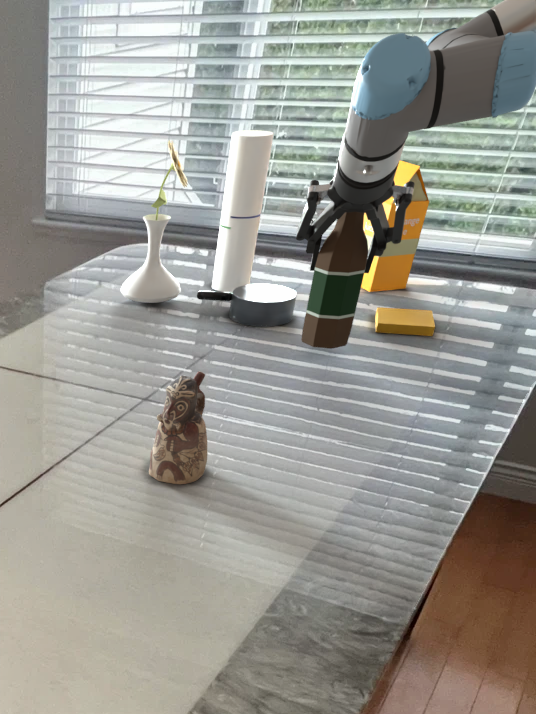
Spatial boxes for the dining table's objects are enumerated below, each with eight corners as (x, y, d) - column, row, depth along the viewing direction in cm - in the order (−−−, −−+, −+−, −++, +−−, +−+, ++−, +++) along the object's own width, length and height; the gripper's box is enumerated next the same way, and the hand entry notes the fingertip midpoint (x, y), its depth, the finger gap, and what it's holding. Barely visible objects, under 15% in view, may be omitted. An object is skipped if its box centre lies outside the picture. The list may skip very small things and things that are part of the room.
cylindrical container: (242, 294, 161) (266, 137, 144) (206, 289, 164) (226, 135, 147) (253, 284, 166) (278, 131, 149) (218, 280, 168) (239, 129, 152)
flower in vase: (165, 311, 155) (181, 149, 138) (109, 303, 159) (118, 145, 143) (192, 292, 163) (210, 137, 146) (138, 285, 167) (150, 134, 151)
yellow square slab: (429, 319, 147) (432, 310, 146) (432, 336, 141) (435, 326, 140) (375, 316, 149) (377, 307, 148) (375, 332, 143) (377, 323, 142)
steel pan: (293, 309, 153) (298, 285, 151) (290, 328, 146) (294, 303, 143) (198, 303, 158) (201, 280, 155) (190, 322, 150) (193, 297, 147)
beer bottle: (358, 339, 135) (401, 163, 119) (335, 352, 131) (375, 171, 115) (314, 330, 139) (349, 158, 123) (290, 342, 135) (323, 166, 119)
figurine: (136, 467, 108) (145, 372, 100) (180, 454, 111) (192, 360, 103) (171, 489, 104) (183, 391, 95) (216, 475, 106) (231, 378, 98)
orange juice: (381, 276, 167) (411, 156, 154) (406, 288, 161) (440, 164, 147) (345, 279, 166) (372, 159, 153) (369, 292, 160) (400, 168, 146)
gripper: (283, 184, 111) (269, 283, 133) (448, 188, 106) (405, 290, 128) (293, 129, 111) (277, 237, 133) (458, 130, 106) (414, 242, 128)
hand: (340, 263), depth 131 cm, fingers closed on beer bottle, 7 cm apart
